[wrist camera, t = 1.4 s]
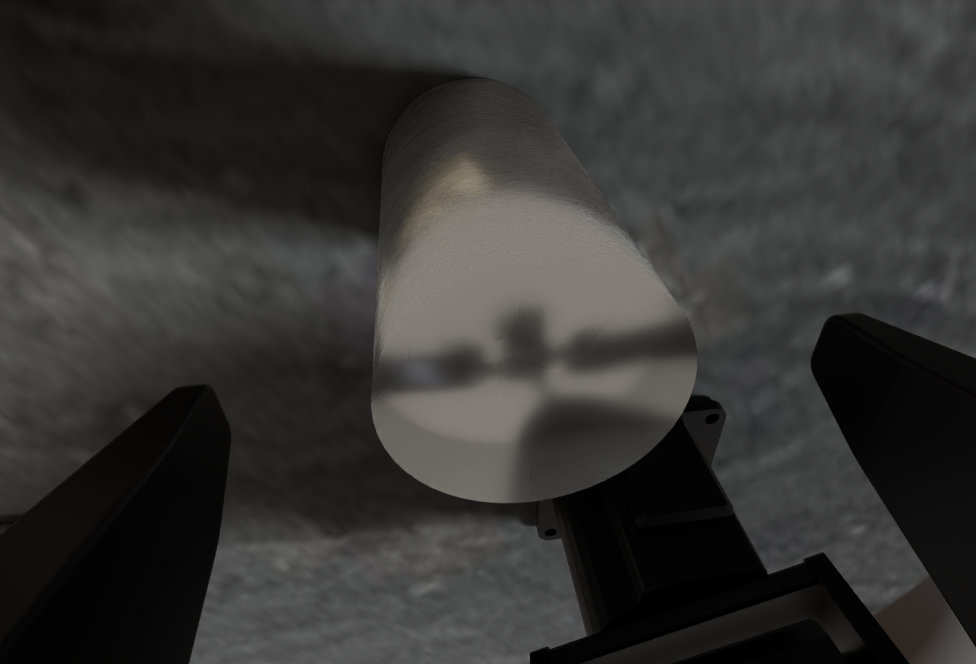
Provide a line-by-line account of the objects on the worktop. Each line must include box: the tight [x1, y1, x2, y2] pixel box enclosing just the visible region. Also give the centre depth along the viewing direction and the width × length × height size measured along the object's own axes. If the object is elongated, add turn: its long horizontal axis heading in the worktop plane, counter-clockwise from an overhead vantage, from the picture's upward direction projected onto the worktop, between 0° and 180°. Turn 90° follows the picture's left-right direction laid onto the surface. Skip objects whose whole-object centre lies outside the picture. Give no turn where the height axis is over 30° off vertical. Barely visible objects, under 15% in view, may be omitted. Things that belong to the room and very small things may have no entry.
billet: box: [371, 78, 697, 503], centre depth 11 cm, size 4×4×8 cm
